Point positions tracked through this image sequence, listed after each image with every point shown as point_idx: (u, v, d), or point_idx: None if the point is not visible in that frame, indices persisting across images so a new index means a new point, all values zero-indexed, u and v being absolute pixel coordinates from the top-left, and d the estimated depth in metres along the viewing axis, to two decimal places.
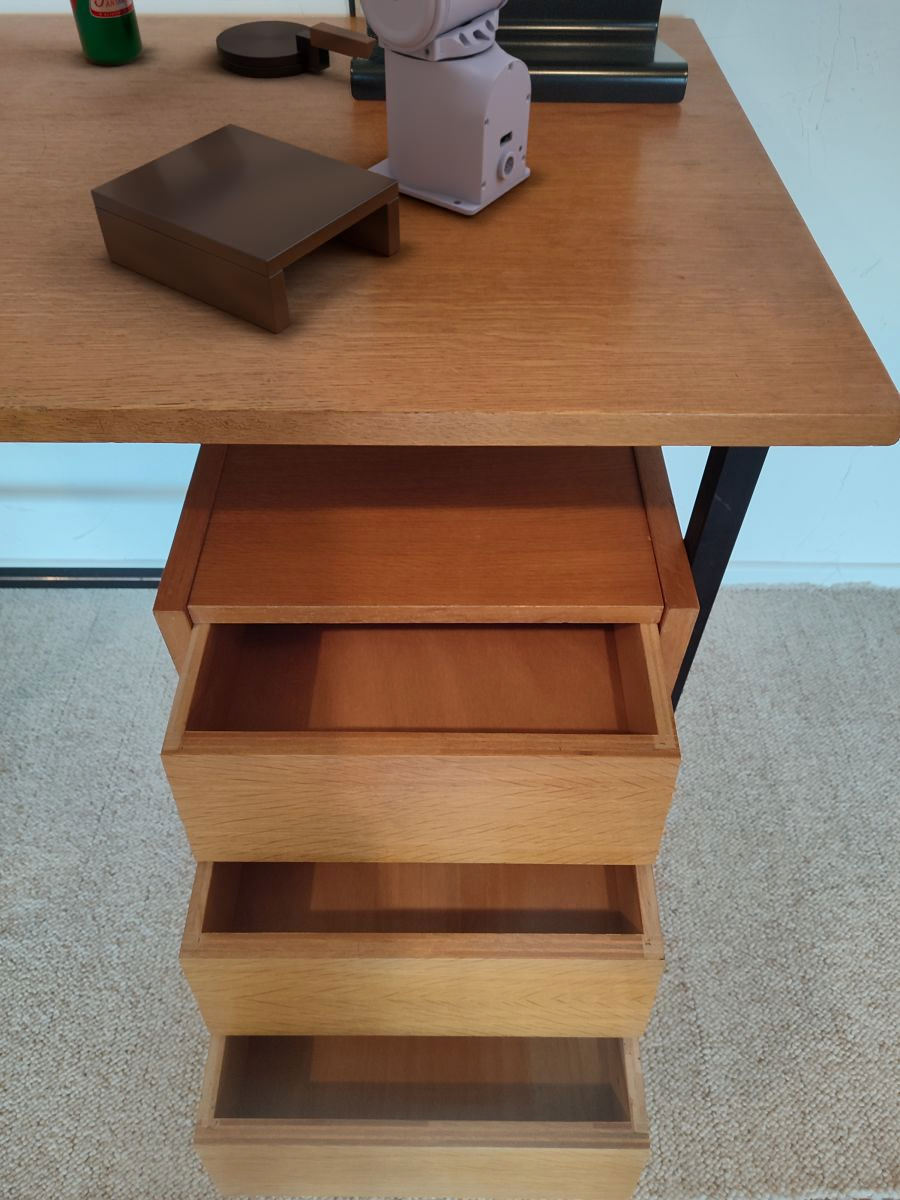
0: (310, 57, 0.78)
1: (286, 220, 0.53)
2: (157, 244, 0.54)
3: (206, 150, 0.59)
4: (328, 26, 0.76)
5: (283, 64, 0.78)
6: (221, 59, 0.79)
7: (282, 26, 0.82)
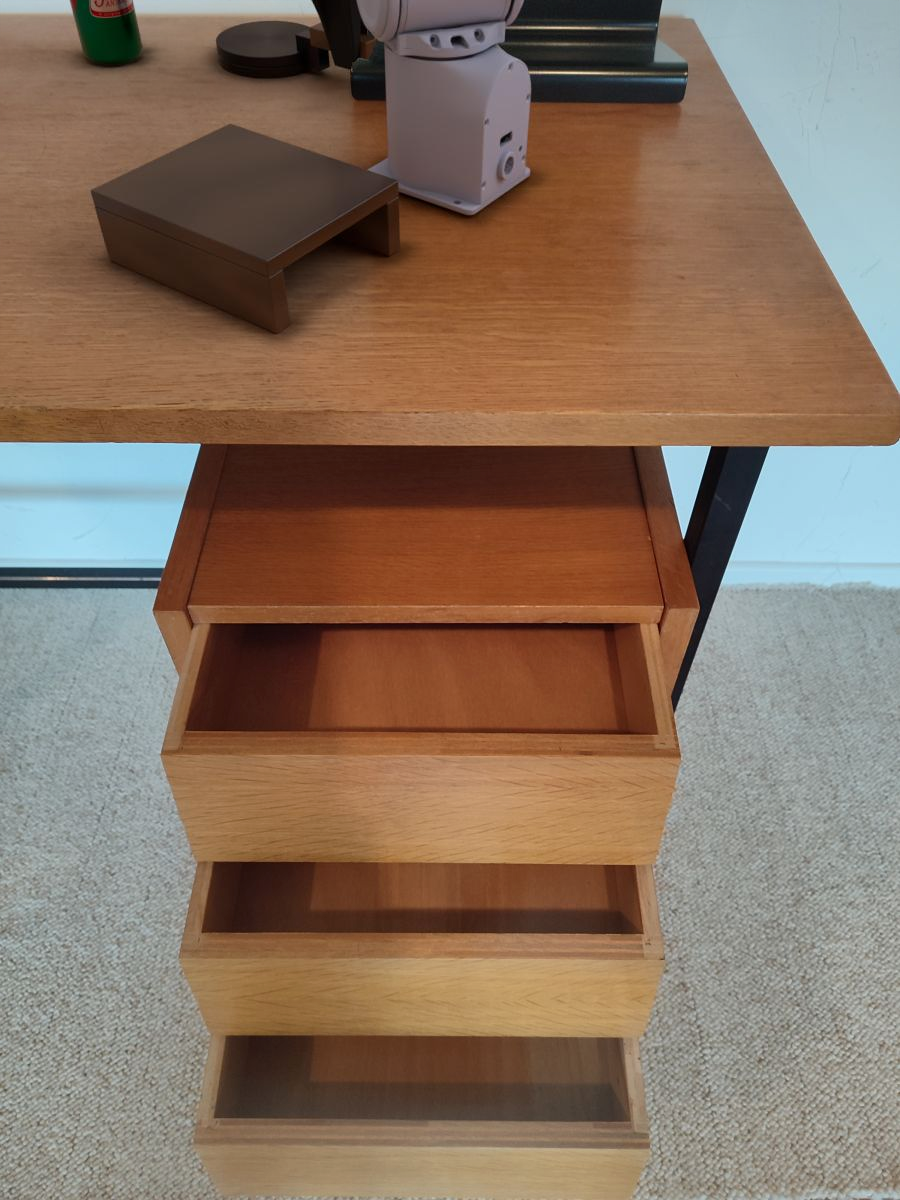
0: (310, 57, 0.78)
1: (286, 220, 0.53)
2: (157, 244, 0.54)
3: (206, 150, 0.59)
4: None
5: (283, 64, 0.78)
6: (221, 59, 0.79)
7: (282, 26, 0.82)
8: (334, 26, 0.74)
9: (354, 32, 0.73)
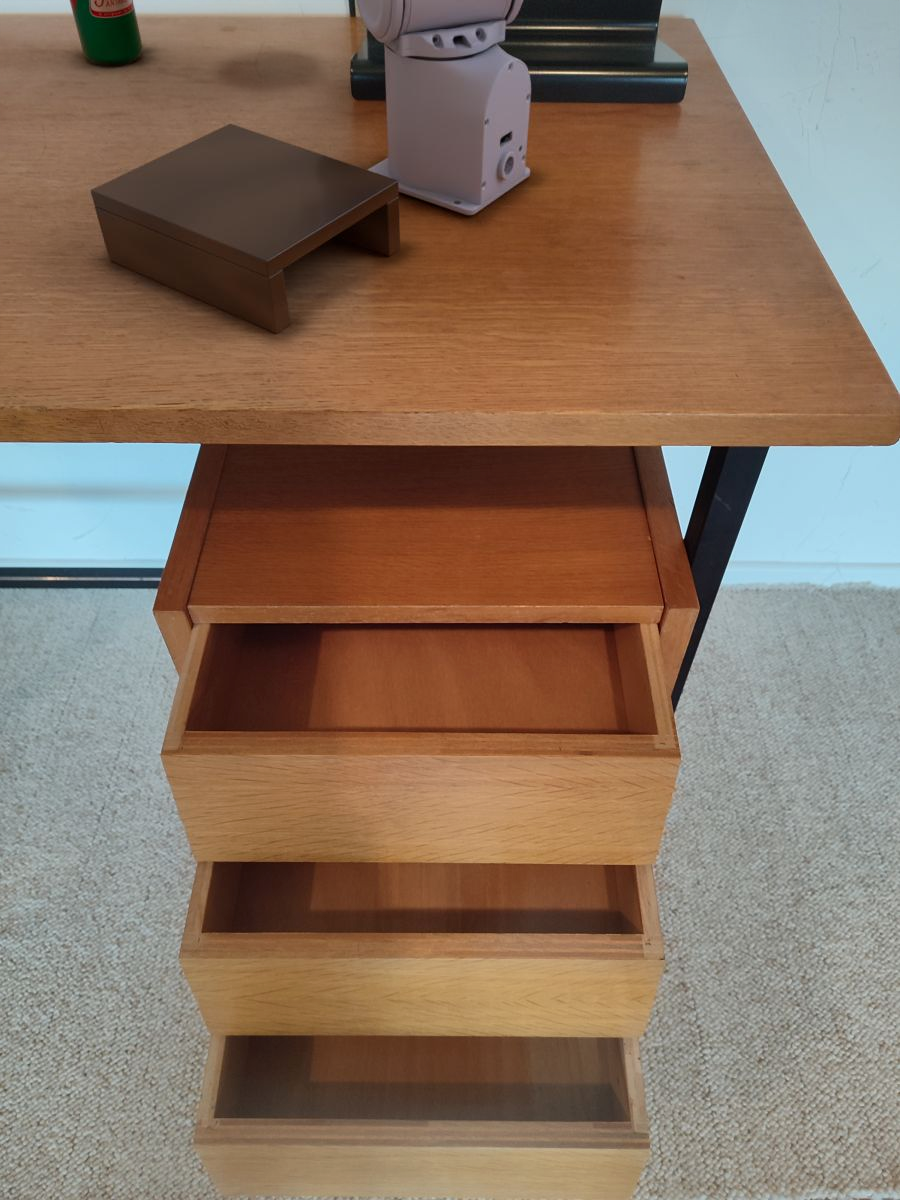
0: None
1: (286, 220, 0.53)
2: (157, 244, 0.54)
3: (206, 150, 0.59)
4: None
5: None
6: None
7: None
8: None
9: None
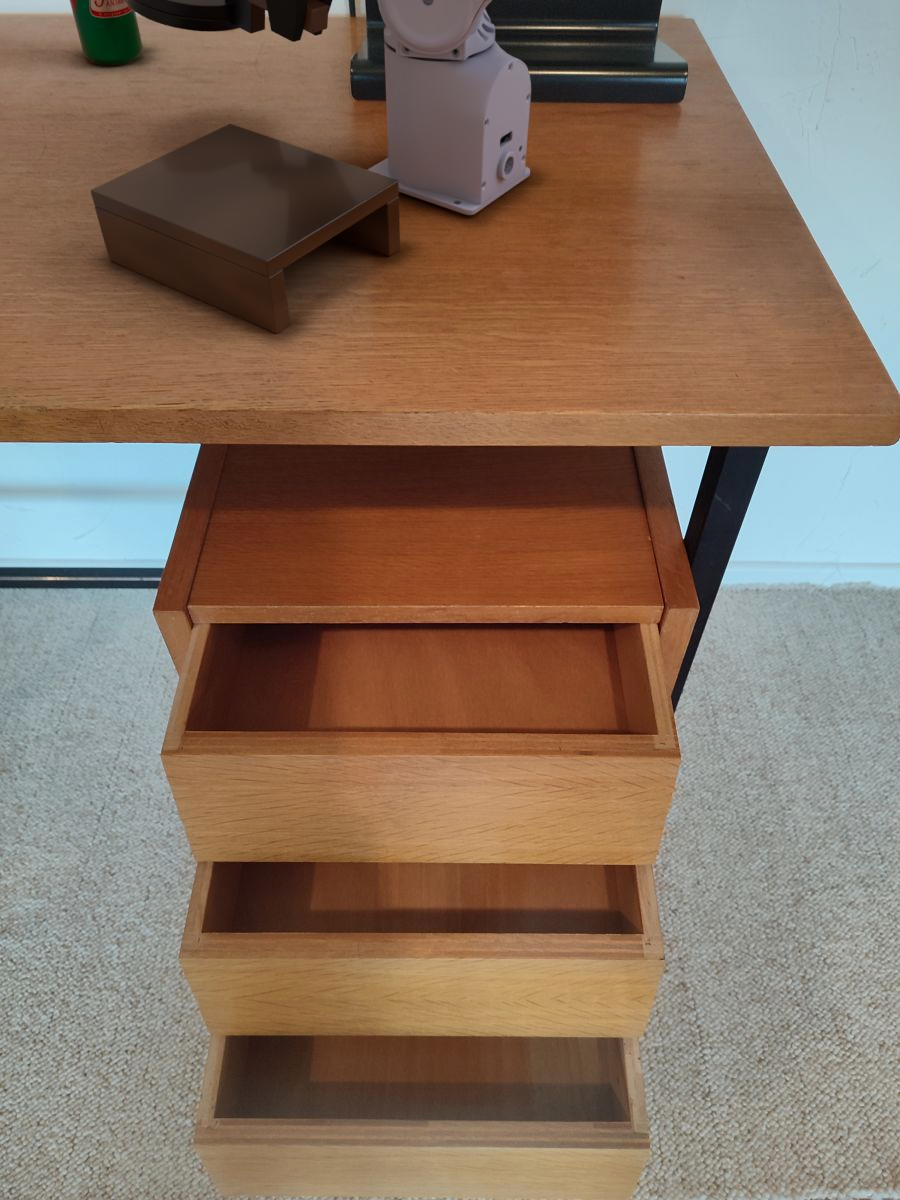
0: (240, 13, 0.62)
1: (286, 220, 0.53)
2: (157, 244, 0.54)
3: (206, 150, 0.59)
4: None
5: (205, 16, 0.61)
6: None
7: None
8: None
9: None
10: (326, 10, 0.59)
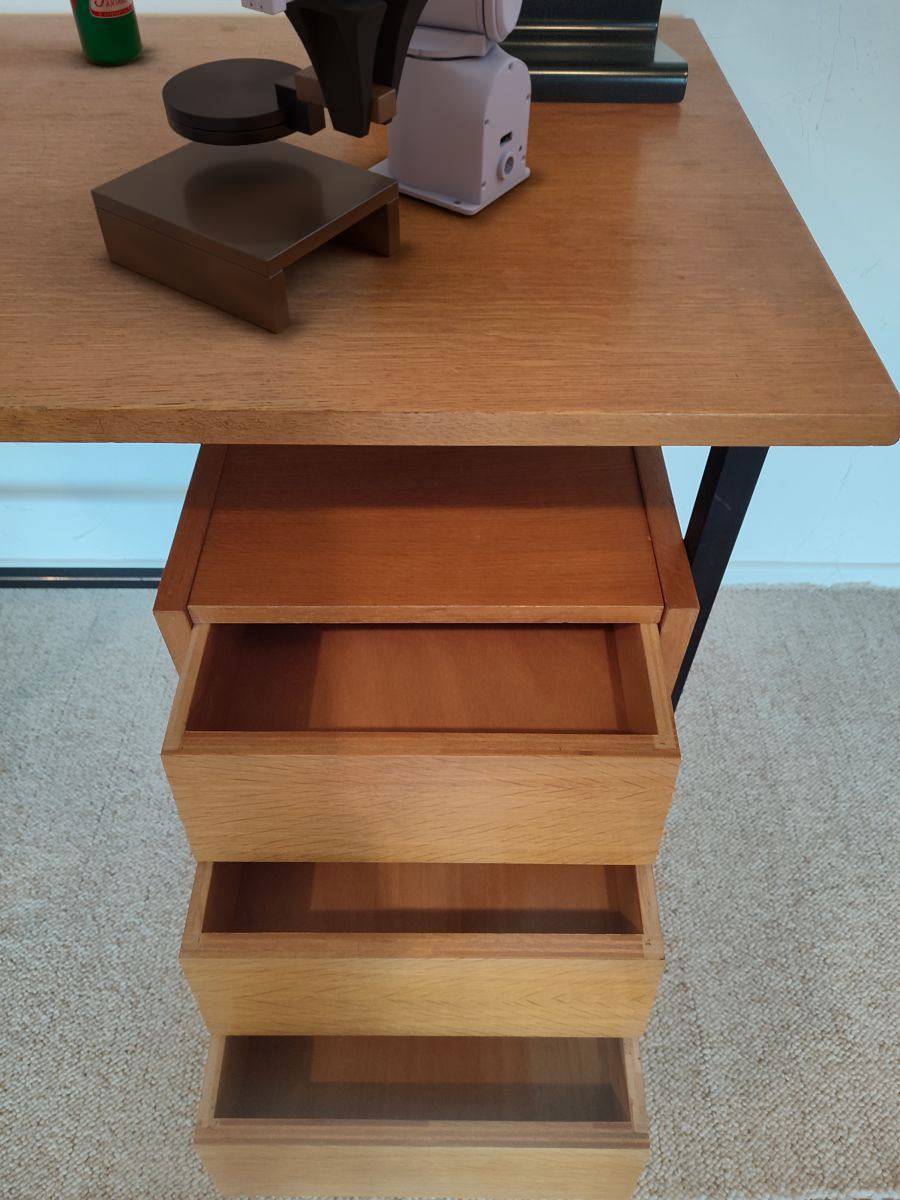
0: (297, 115, 0.53)
1: (286, 220, 0.53)
2: (157, 244, 0.54)
3: (206, 150, 0.59)
4: None
5: (258, 126, 0.53)
6: (169, 119, 0.55)
7: (258, 66, 0.58)
8: (333, 74, 0.49)
9: (363, 84, 0.48)
10: (393, 94, 0.50)
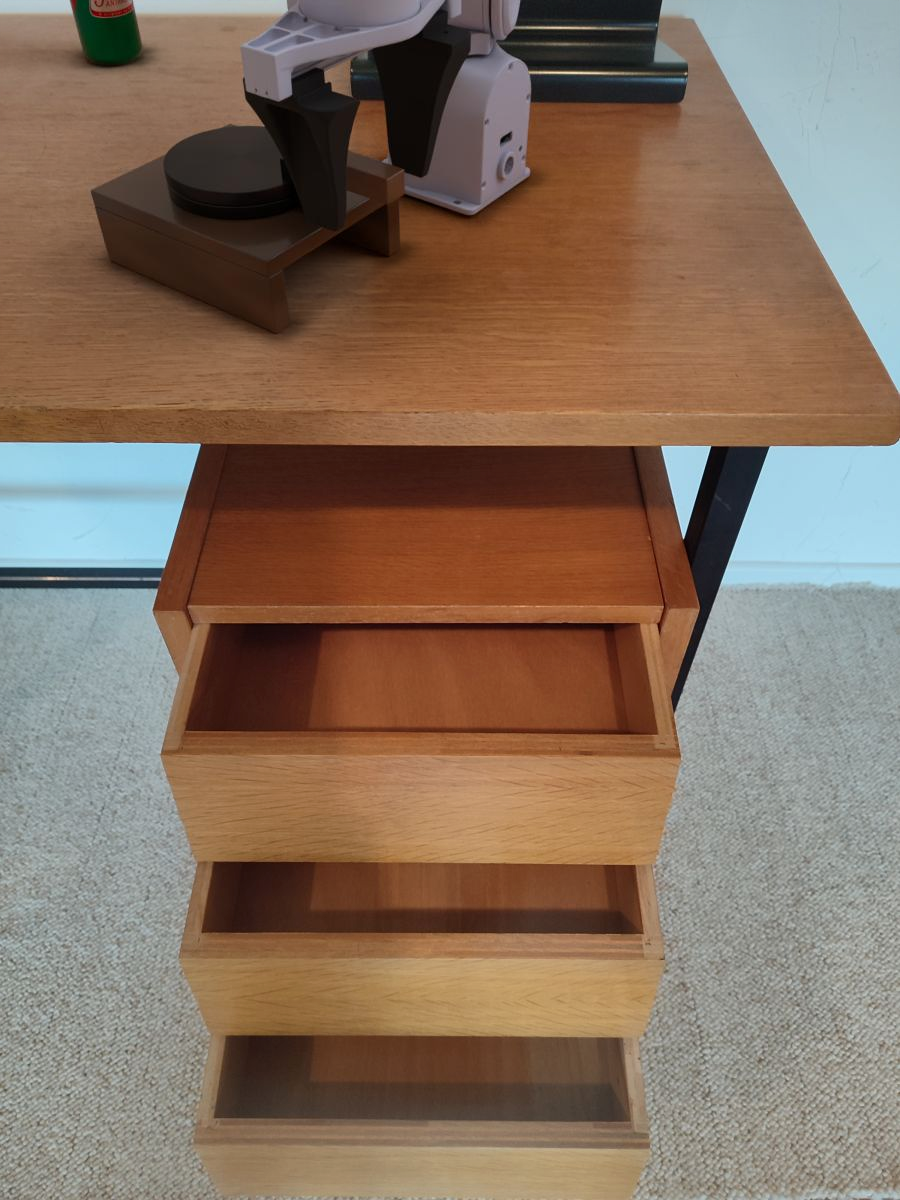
0: None
1: (286, 220, 0.53)
2: (157, 244, 0.54)
3: None
4: None
5: (261, 201, 0.52)
6: (171, 190, 0.54)
7: (262, 136, 0.56)
8: (305, 167, 0.46)
9: (336, 179, 0.46)
10: (402, 175, 0.49)
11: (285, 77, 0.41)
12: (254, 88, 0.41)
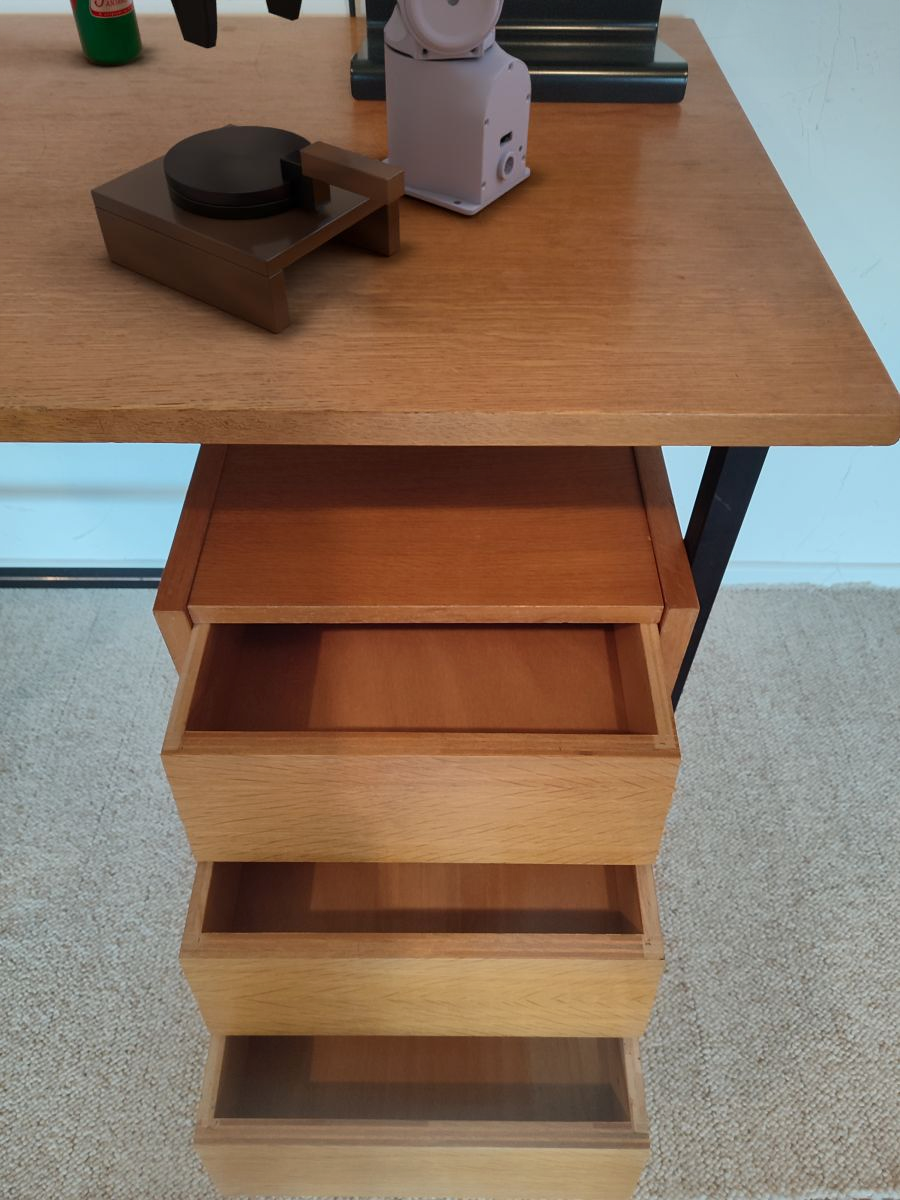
0: (302, 190, 0.52)
1: (286, 220, 0.53)
2: (157, 244, 0.54)
3: None
4: (328, 148, 0.51)
5: (261, 201, 0.52)
6: (171, 190, 0.54)
7: (262, 136, 0.56)
8: None
9: None
10: (402, 175, 0.49)
11: None
12: None
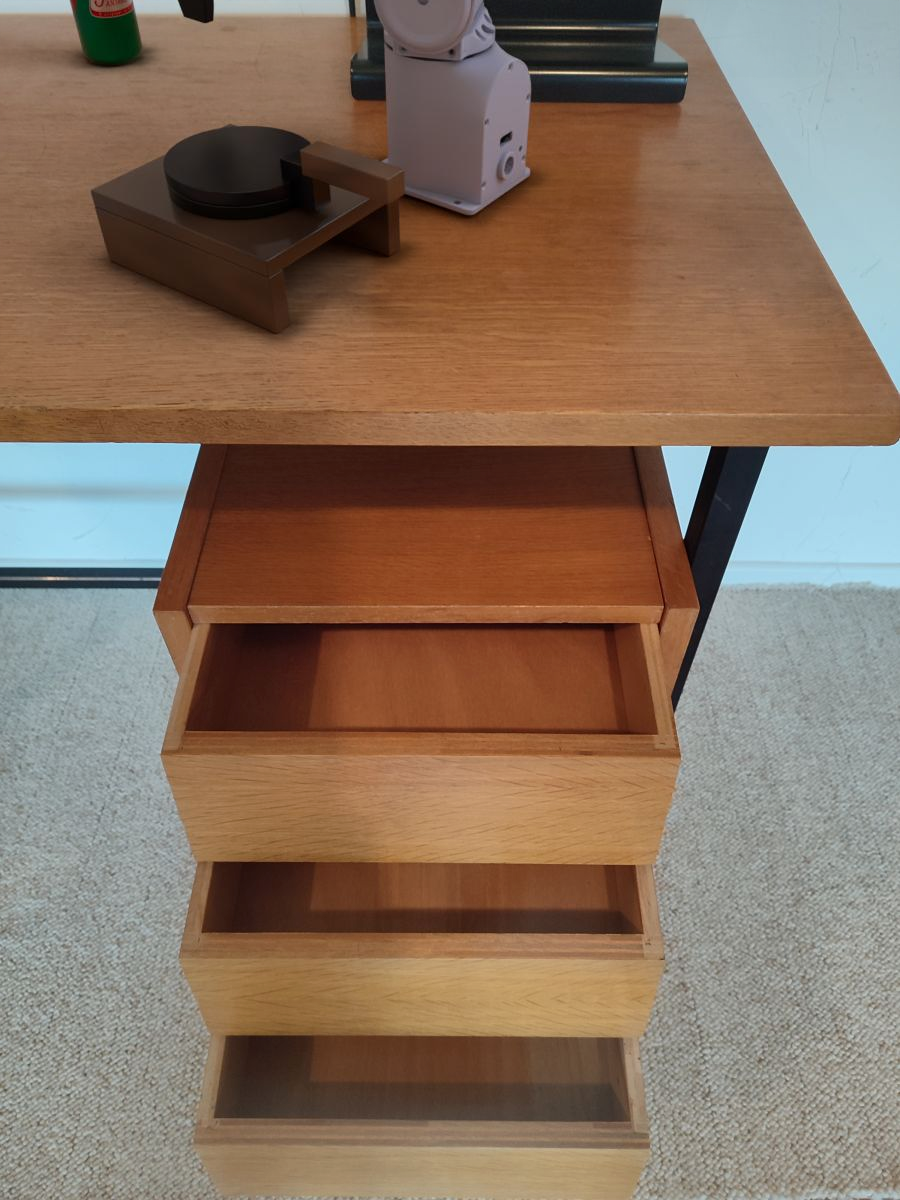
0: (302, 190, 0.52)
1: (286, 220, 0.53)
2: (157, 244, 0.54)
3: None
4: (328, 148, 0.51)
5: (261, 201, 0.52)
6: (171, 190, 0.54)
7: (262, 136, 0.56)
8: None
9: None
10: (402, 175, 0.49)
11: None
12: None
